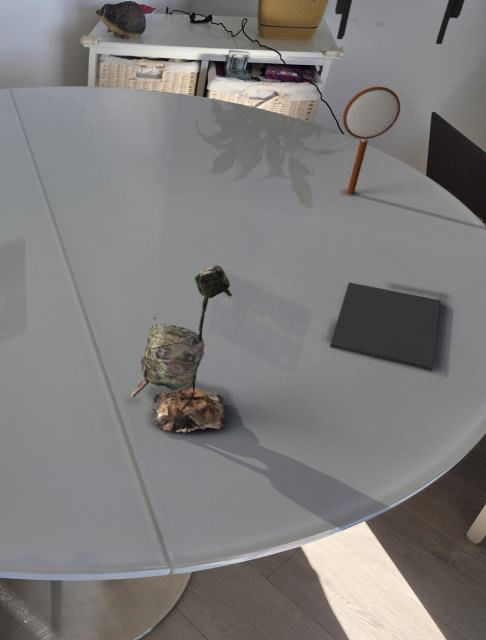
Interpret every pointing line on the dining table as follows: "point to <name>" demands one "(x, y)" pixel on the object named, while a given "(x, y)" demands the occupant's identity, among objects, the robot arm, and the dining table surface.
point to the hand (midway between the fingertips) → (388, 39)
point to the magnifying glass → (369, 121)
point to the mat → (388, 325)
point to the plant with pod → (183, 367)
